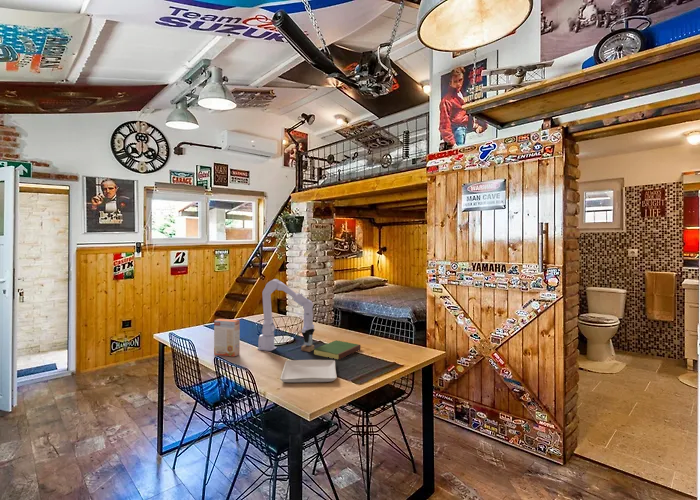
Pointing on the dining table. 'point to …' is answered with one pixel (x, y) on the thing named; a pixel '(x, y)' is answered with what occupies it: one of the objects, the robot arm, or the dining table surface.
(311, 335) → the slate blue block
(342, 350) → the hardcover book
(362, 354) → the dining table surface
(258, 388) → the dining table surface
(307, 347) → the walnut base block
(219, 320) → the cracker box
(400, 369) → the dining table surface
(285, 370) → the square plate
